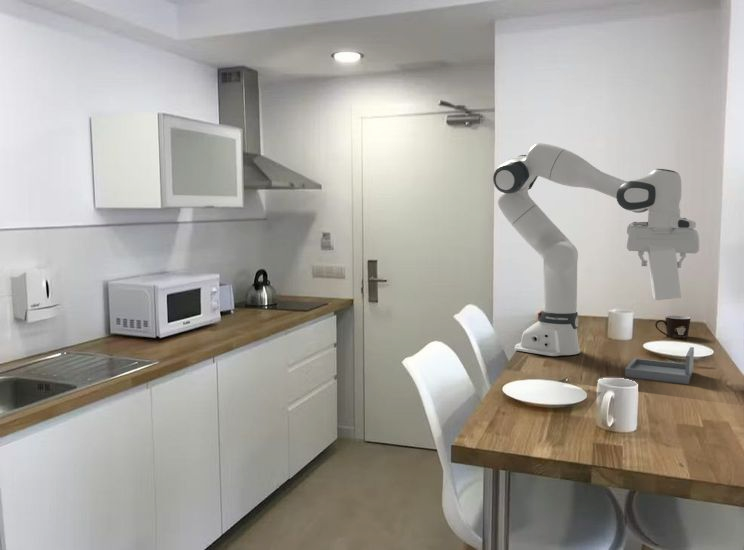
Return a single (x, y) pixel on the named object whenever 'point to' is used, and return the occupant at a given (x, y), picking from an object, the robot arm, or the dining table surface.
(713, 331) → the dining table surface
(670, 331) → the coffee mug
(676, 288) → the milk carton
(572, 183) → the robot arm
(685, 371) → the tray
